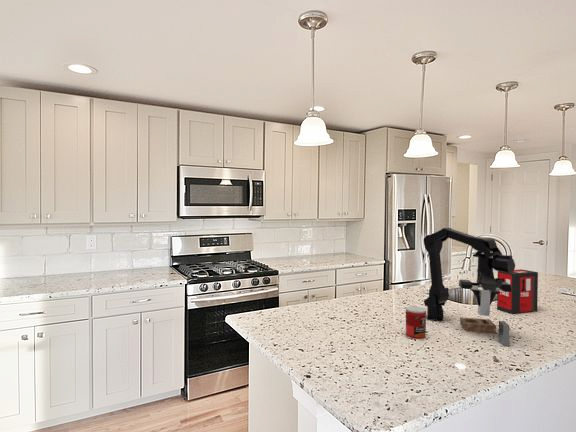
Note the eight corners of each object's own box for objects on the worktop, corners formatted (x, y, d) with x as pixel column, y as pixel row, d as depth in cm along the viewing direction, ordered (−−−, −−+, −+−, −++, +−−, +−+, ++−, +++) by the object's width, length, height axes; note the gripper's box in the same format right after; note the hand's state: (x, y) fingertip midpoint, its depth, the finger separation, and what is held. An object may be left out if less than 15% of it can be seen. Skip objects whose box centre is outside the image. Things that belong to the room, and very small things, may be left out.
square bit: (480, 315, 149) (481, 291, 148) (477, 312, 152) (478, 289, 152) (489, 316, 148) (490, 292, 147) (487, 313, 151) (487, 290, 151)
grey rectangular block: (503, 346, 136) (503, 325, 136) (498, 341, 141) (498, 320, 141) (509, 346, 136) (509, 325, 136) (504, 341, 141) (504, 321, 141)
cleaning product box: (512, 314, 177) (513, 274, 176) (497, 309, 185) (497, 271, 185) (537, 311, 182) (537, 272, 182) (520, 307, 191) (521, 269, 190)
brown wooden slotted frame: (464, 330, 153) (464, 323, 153) (460, 324, 162) (460, 317, 162) (496, 333, 150) (496, 325, 150) (489, 326, 159) (489, 319, 159)
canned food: (416, 340, 142) (416, 312, 142) (401, 334, 149) (401, 307, 149) (430, 337, 145) (430, 310, 145) (414, 331, 153) (415, 305, 152)
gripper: (465, 270, 144) (463, 309, 144) (517, 274, 139) (516, 313, 140) (459, 266, 154) (457, 302, 155) (507, 268, 150) (506, 305, 150)
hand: (483, 306), depth 150 cm, fingers closed on square bit, 3 cm apart
